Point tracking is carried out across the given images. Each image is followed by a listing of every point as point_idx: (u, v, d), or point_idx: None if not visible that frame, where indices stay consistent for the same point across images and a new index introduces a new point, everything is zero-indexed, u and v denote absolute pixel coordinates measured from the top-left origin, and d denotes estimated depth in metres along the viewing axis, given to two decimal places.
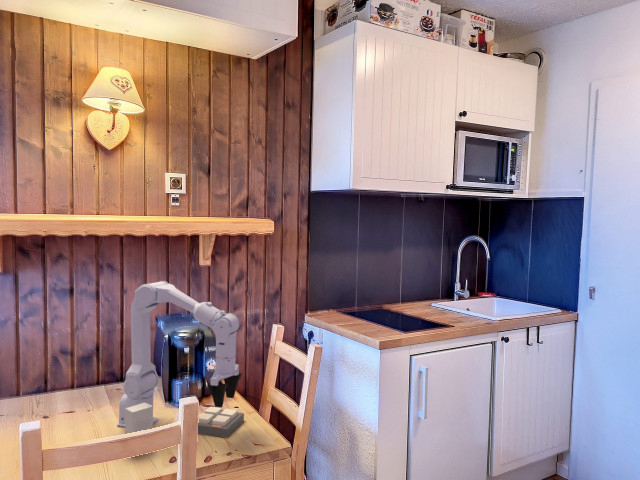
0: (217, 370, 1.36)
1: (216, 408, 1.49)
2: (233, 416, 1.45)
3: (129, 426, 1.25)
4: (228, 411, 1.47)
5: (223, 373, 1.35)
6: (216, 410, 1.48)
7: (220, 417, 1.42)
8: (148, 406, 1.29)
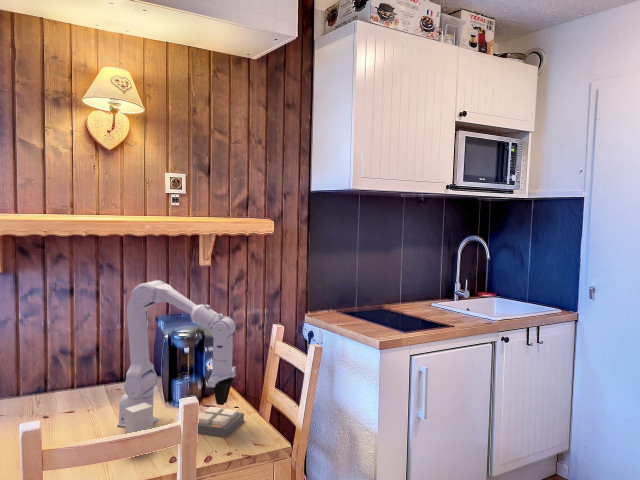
0: (214, 372, 1.39)
1: (216, 408, 1.49)
2: (233, 416, 1.45)
3: (129, 426, 1.25)
4: (228, 411, 1.47)
5: (220, 375, 1.38)
6: (216, 410, 1.48)
7: (220, 417, 1.42)
8: (148, 406, 1.29)
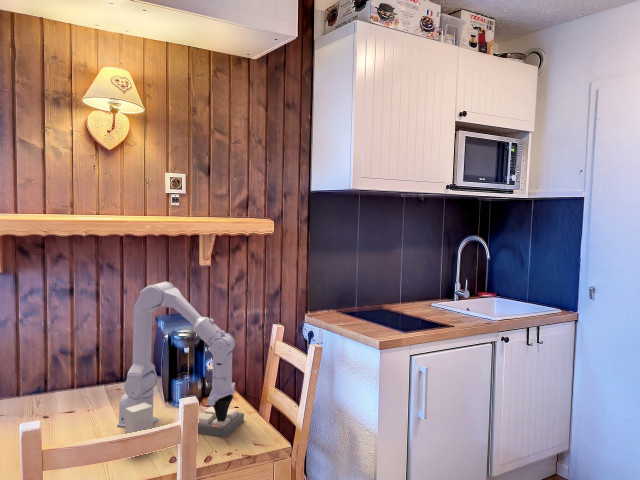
0: (214, 389, 1.39)
1: None
2: (233, 416, 1.45)
3: (129, 426, 1.25)
4: (228, 411, 1.47)
5: (220, 392, 1.38)
6: None
7: None
8: (148, 406, 1.29)
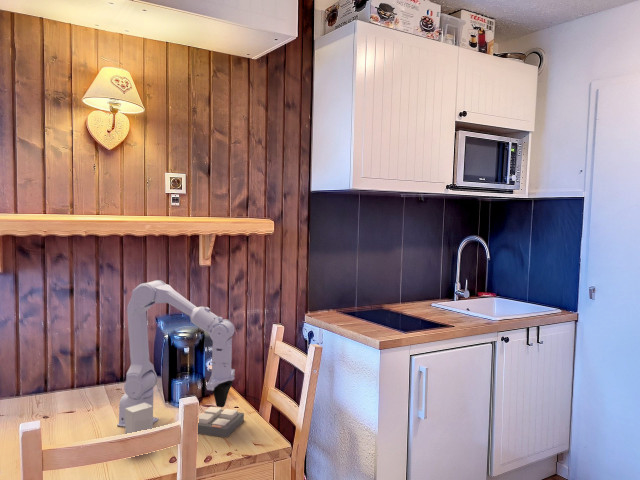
0: (213, 375, 1.39)
1: (216, 408, 1.49)
2: (233, 416, 1.45)
3: (129, 426, 1.25)
4: (228, 411, 1.47)
5: (219, 378, 1.39)
6: (216, 410, 1.48)
7: (220, 420, 1.42)
8: (148, 406, 1.29)
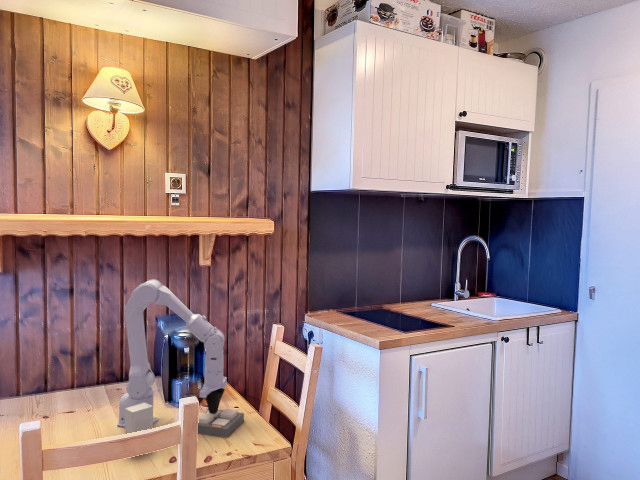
0: (206, 383, 1.46)
1: None
2: (233, 416, 1.45)
3: (129, 426, 1.25)
4: (228, 411, 1.47)
5: (211, 386, 1.45)
6: (216, 413, 1.48)
7: (220, 420, 1.42)
8: (148, 406, 1.29)
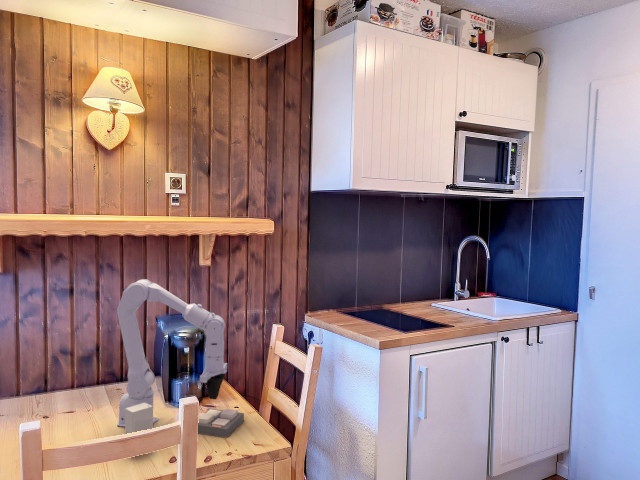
0: (206, 368, 1.46)
1: (216, 411, 1.49)
2: (233, 416, 1.45)
3: (129, 426, 1.25)
4: (228, 411, 1.47)
5: (212, 371, 1.45)
6: (216, 413, 1.48)
7: (220, 420, 1.42)
8: (148, 406, 1.29)
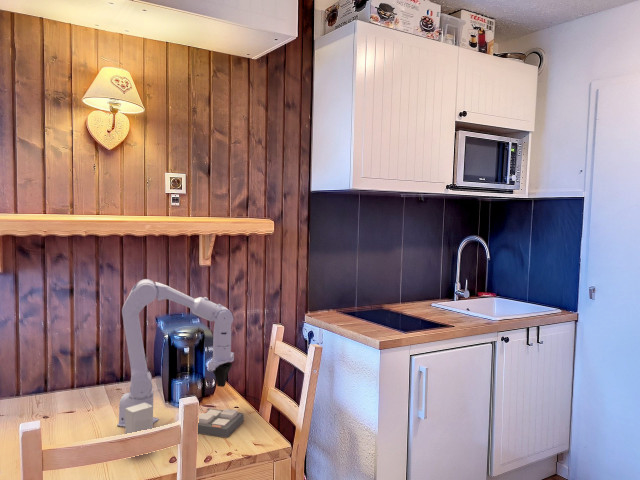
0: (214, 357, 1.51)
1: (216, 411, 1.49)
2: (233, 416, 1.45)
3: (129, 426, 1.25)
4: (228, 411, 1.47)
5: (220, 359, 1.50)
6: (216, 413, 1.48)
7: (220, 420, 1.42)
8: (148, 406, 1.29)
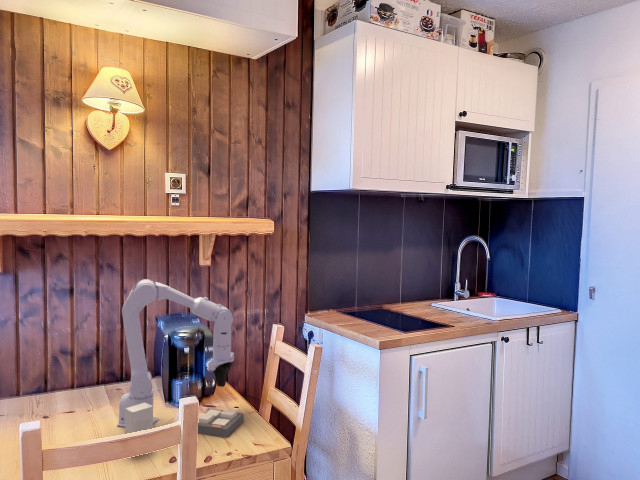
0: (214, 357, 1.51)
1: (216, 411, 1.49)
2: (233, 416, 1.45)
3: (129, 426, 1.25)
4: (228, 411, 1.47)
5: (220, 359, 1.50)
6: (216, 413, 1.48)
7: (220, 420, 1.42)
8: (148, 406, 1.29)
